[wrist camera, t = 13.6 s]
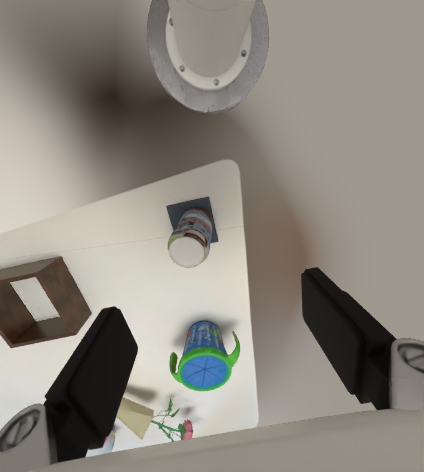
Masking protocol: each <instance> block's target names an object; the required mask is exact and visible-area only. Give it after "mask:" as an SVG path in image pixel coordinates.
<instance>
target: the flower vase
mask: <svg viewBox="0 0 424 472" xmlns="http://www.w3.org/2000/svg"><path fill="white" fill-rule="evenodd" d="M171 404H172V402H171V399H170V403H169V408H168V411H169V412H168V411H167V410H166V411H167V412H168V415H167V414H166V415H159V414H158V416H171V417H174V416H175V415H176V414H177V412H178V410H179V409H180V408H179V409H178V410H177V411H176V412H175V413H173V414H172V415H169V413H170V411H171V410H172V409H171V407H172V405H173V404H172V405H171ZM166 411H165V412H166ZM153 412H154V410H152V409H150V408H147V407H145V406H142V405H140V404H138V403H135V402H133V401H131V400H128V399H126V398H124V397H123V398H122V401H121V404H120V407H119V410H118V413H117V416H116V417H117V418H118V419H119V420H121V421H122V422H123V423H124V424H125V425H126V426H127V427H128V428H129V429H131V430H132V431H133V432H134V433H135V434H136V435H137V436H138V437H139V438H140V439H142V438H143V436H144V434H145V432H146V430H147V429H148V427H149V425H150V423H151V422H153V423H155V424H157V425H158V426H159V429H162V430H163V432H164V433H166V434H167V435H168V436H167V435H166V436H167V437H168V438H169V439H170V438H171V437H170V433H169V434H168V433H167V432H166V431H165V430H164V429H163V428H162V426H163V427H165V428H167V429H170V431H177V432H180V433H181V436H179V437H181V440H186V439H191V438H192V434H193V429H192V424H191V422H190V420H188V419H187V421H186V420H185V423H184V422H183V426H182V424H179V426H178V428H177V429H179V430H180V431H179V430H176V429H173V428H170V427H167V426H165V425H163V423H164V422H163V423H162V424H160V422H161V421H160V422H159V423H157V422H155V421H153V420H152V419H153V418H154V417H153ZM161 412H162V411H161ZM155 417H156V416H155ZM164 418H165V417H164ZM164 418H163V419H164ZM163 421H164V420H163ZM173 433H174V432H173ZM176 435H177V434H176ZM172 437H173V434H172ZM171 440H172V442H175V441H174V440H173V439H172V438H171Z"/></svg>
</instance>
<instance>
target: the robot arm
mask: <svg viewBox="0 0 424 472" xmlns="http://www.w3.org/2000/svg"><path fill="white" fill-rule="evenodd" d="M255 2H256V0H168V4H169V9H170V10H169V14H168V17H167V23H166V43H167V49H168V53H169V56H170V59H171V61H172V64H173V66H174V68H175V69H176V71H177V73H178V74H179V75H180V76H181V78H182V79H183V80H184V81H185V82H187V83H188V84H189V85H191V86H192V87H194V88H196V89H199V90H203V91H216V90H220V89H222V88H225V87H227V86H228V85H229V84H231V83H232V82H233V81H234V80H235V79H236V78H237V77H238V76H239V74H240V73H241V71H242V70H243V68H244V66H245V64H246V61H247V59H248V56H249V52H250V46H251V25H250V17H251V14H252V11H253V8H254V5H255ZM172 24H173V26H171V25H172ZM241 55H244V57H242V56H241ZM182 69H184V72H181V70H182ZM215 83H217V84H218V85H217V86H215ZM301 282H302V311H303V318H304V321H305V323H306V324H307V326H308V327H309V329H310V331H311V332H312V334H313V335H314V337H315V339H316V340H317V342H318V343H319V345H320V347H321V348H322V350H323V351H324V353H325V355H326V356H327V358H328V360H329V361H330V363H331V364H332V366H333V368H334V369H335V371H336V372H337V374H338V376H339V377H340V379H341V381H342V382H343V384H344V385H345V387H346V389H347V390H348V392H349V393H350V394H352V395H353V394H355V396H356V397H357V399H358V400H359V402H360V403H361V404H363V403H369V402H372V404H373V405H374V406H375V408H376V409H377V410H375V411H362V412H355V413H348V414H341V415H335V416H327V417H320V418H314V419H308V420H301V421H295V422H289V423H282V424H276V425H270V426H264V427H258V428H252V429H246V430H240V431H234V432H228V433H222V434H216V435H210V436H204V437H198V438H192V439H186V440H180V441H175V442H169V443H163V444H157V445H151V446H146V447H140V448H134V449H129V450H123V451H117V452H112V453H106V454H100V455H95V456H90V457H86V454H87V452H88V449H89V450H93V449H99V448H103V446H104V443H105V440H106V437H108V436H109V435H110V433H111V431H112V428H113V425H114V422H115V419H116V416H117V413H118V410H119V407H120V404H121V401H122V398H123V395H124V392H125V389H126V386H127V383H128V380H129V377H130V374H131V371H132V368H133V364H134V361H135V358H136V355H137V352H138V346H137V343H136V341H135V339H134V337H133V335H132V333H131V331H130V329H129V327H128V325H127V323H126V320H125V318H124V316H123V314H122V312H121V310H120V309H117V308H116V307H109V308H104V309H102V310H101V311H100V313H99V314H98V316H97V318H96V319H95V321H94V322H93V324H92V325H91V327H90V328H89V330H88V331H87V333H86V334H85V336H84V337H83V339H82V340H81V342H80V343H79V345H78V346H77V348H76V349H75V351H74V352H73V354H72V356H71V357H70V359H69V360H68V362H67V363H66V365H65V366H64V368H63V369H62V371H61V372H60V374H59V375H58V377H57V378H56V380H55V381H54V383H53V384H52V386H51V387H50V389H49V390H48V392H47V394H46V395H45V398H46V399H47V400H46V401H45V403H44V404H43V405H42V404H34V405H31V406H28V407H27V408H25V409H23V410H22V411H20V412H19V413H18V414H16V415H15V416H14V417H13V418H12V419H11V420H10V421H9V422H8V423H7V424H6V425H5V426H4V427H3V428H2V429H1V431H0V472H424V342H423V341H420V340H416V339H411V338H401V339H396V338H395V337H394V336H393V335H392V334H391V333H389V332H388V331H387V330H386V329H385V328H384V327H383V326H382V325H381V324H380V323H379V322H378V321H377V320H376V319H375V318H374V317H372V316H371V315H370V314H369V313H368V312H367V311H366V310H365V309H364V308H363V307H362V306H361V305H360V304H359V303H358V302H357V301H356V300H354V299H353V298H352V297H351V296H350V295H349V294H348V293H347V292H345V291H342V290H341V289H340V288H339V287H338V286H337V285H336V284H335V283H334V282H333V281H331V280H330V279H329V278H328V277H327V276H326V275H325V274H324V273H323V272H322V271H321V270H320V269H319V268H317V267H316V268H311V269H306V270H305V271H304V273H302V274H301Z"/></svg>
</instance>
